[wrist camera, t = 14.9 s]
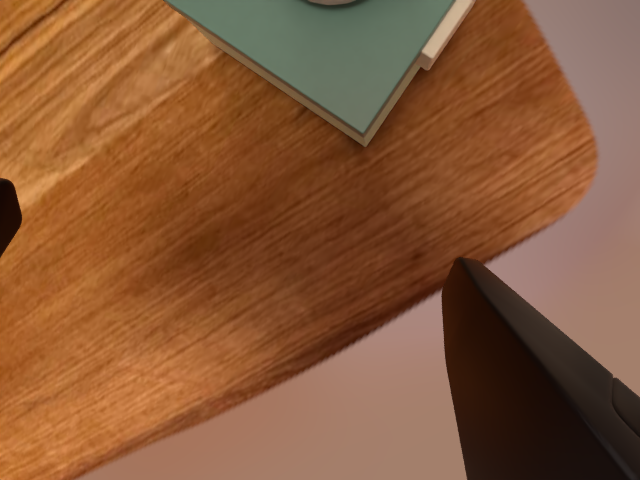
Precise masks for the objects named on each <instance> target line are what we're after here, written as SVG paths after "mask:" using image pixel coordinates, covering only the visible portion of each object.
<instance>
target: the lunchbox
mask: <svg viewBox="0 0 640 480" xmlns="http://www.w3.org/2000/svg"><path fill="white" fill-rule="evenodd" d="M163 1H164V2H165V3H167V4H168V5H169V6H170V7H171V8H172V9H174V10H175V11H177V12H178V13H180V14H181V15H183V16H184V17H185V18H186V19H187V20H189V21H190V22H191V23H192V24H193V25H194V26H195V27H196V28H197V29H198V30H199V31H200V32H201V33H202V34H203V35H204V36H205V37H206V38H207V39H208V40H209V41H210V42H211V43H213V44H214V45H216V46H217V47H218V48H220V49H221V50H223V51H224V52H226V53H227V54H229V55H230V56H232V57H233V58H235V59H236V60H238V61H239V62H241V63H242V64H244V65H245V66H246V67H248V68H249V69H251V70H252V71H254V72H255V73H257V74H258V75H260V76H261V77H263V78H264V79H266V80H267V81H269V82H270V83H271V84H273V85H274V86H276V87H277V88H279V89H280V90H282V91H283V92H285V93H286V94H288V95H289V96H291V97H292V98H294V99H295V100H297V101H298V102H299V103H301V104H302V105H304V106H305V107H307V108H308V109H310V110H311V111H313V112H314V113H316V114H317V115H319V116H320V117H322V118H323V119H324V120H326V121H327V122H329V123H330V124H332V125H333V126H335V127H336V128H338V129H339V130H341V131H342V132H344V133H345V134H347V135H348V136H350V137H351V138H352V139H354V140H355V141H357V142H358V143H360V144H361V145H363V146H364V147H367V145H368V144H369V142H370V141H371V139H372V138H373V136H374V135H375V133H376V132H377V130H378V129H379V127H380V126H381V124H382V123H383V122H384V120H385V119H386V117H387V116H388V114H389V113H390V111H391V110H392V108H393V107H394V105H395V104H396V102H397V101H398V99H399V98H400V96H401V95H402V94H403V92H404V91H405V89H406V88H407V86H408V85H409V83H410V82H411V80H412V79H413V77H414V76H415V74H416V73H417V71H418V70H419V69H420V67H422V68H423V69H425V70H427V71H428V70H430V68H431V67H432V65H433V64H434V62H435V61H436V59H437V58H438V56H439V55H440V53H441V52H442V51H443V49H444V48H445V46H446V45H447V43H448V42H449V40H450V39H451V37H452V36H453V34H454V33H455V32H456V30H457V29H458V27H459V26H460V24H461V23H462V21H463V20H464V18H465V17H466V15H467V14H468V13H469V11H470V10H471V8H472V7H473V5H474V3H475V1H476V0H355V1H352V2H349V3H347V4H336V5H325V4H320V3H314V2H310V1H308V0H163Z"/></svg>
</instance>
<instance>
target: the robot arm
mask: <svg viewBox="0 0 640 480" xmlns="http://www.w3.org/2000/svg"><path fill="white" fill-rule="evenodd" d="M21 222H22V214H21V210H20V206H19V202H18V198H17V194H16V190H15V187H14V185H13V183H12V182H11V181H9V180H8V179H3V178H0V257H1V256H2V254H3V253H4V251H5V249H6V248H7V246H8V245H9V243H10V242H11V240H12V239H13V237H14V236H15V234H16V232H17V231H18V229H19V228H20V225H21ZM442 314H443V329H444V330H443V331H444V346H445V359H446V366H447V373H448V378H449V382H450V388H451V394H452V400H453V405H454V410H455V415H456V421H457V426H458V432H459V437H460V443H461V448H462V454H463V459H464V464H465V470H466V475H467V480H640V397H639V396H638V395H636V394H635V393H634V392H633V391H632V390H630V389H629V388H628V387H627V386H626V385H624V384H623V383H622V382H621V381H620V380H619V379H617V378H613V375H612V374H611V373H610V372H609V371H608V370H607V369H606V368H604V367H603V366H602V365H601V364H600V363H598V362H597V361H596V360H595V359H594V358H593V357H591V356H590V355H589V354H588V353H587V352H586V351H584V350H583V349H582V348H581V347H580V346H578V345H577V344H576V343H575V342H574V341H573V340H571V339H570V338H569V337H568V336H567V335H565V334H564V333H563V332H562V331H560V329H558V328H557V327H556V326H555V325H554V324H552V323H551V322H550V321H549V320H548V319H547V318H545V317H544V316H543V315H542V314H541V313H540V312H538V311H537V310H536V309H535V308H534V307H532V306H531V305H530V304H529V303H528V302H526V301H525V300H524V299H523V298H522V297H521V296H519V295H518V294H517V293H516V292H515V291H514V290H512V289H511V288H510V287H509V286H508V285H506V284H505V283H504V282H503V281H502V280H500V279H499V278H498V277H497V276H496V275H495V274H493V273H492V272H491V271H490V270H489V269H488V268H486V267H485V266H484V265H483V264H482V263H480V262H479V261H478V260H475V259H469V258H463V257H459V258H457V259H456V260H455V261H454V263H453V265H452V268H451V270H450V272H449V275H448V277H447V279H446V282H445V284H444V286H443V290H442Z"/></svg>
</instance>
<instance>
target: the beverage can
mask: <svg viewBox="0 0 640 480" xmlns="http://www.w3.org/2000/svg"><path fill="white" fill-rule="evenodd" d="M308 1H310V2H314V3H320V4H325V5H336V4H347V3H349V2H352V1H355V0H308Z"/></svg>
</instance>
